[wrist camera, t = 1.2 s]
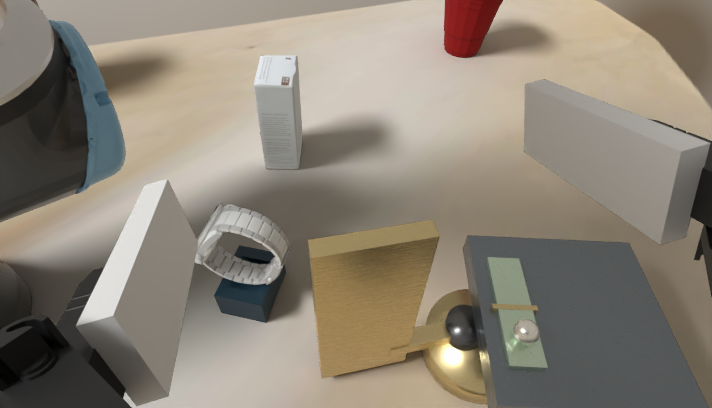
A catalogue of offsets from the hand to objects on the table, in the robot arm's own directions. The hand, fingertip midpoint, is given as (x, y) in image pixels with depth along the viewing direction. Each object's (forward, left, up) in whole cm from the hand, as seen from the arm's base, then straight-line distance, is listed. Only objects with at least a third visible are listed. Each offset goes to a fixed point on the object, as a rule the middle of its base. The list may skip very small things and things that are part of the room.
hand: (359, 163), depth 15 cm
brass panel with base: (+1, +7, -25) cm, 26 cm away
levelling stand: (+4, +17, -26) cm, 31 cm away
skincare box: (-30, +6, -26) cm, 40 cm away
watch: (-13, -4, -26) cm, 29 cm away
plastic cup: (-42, +43, -26) cm, 65 cm away
